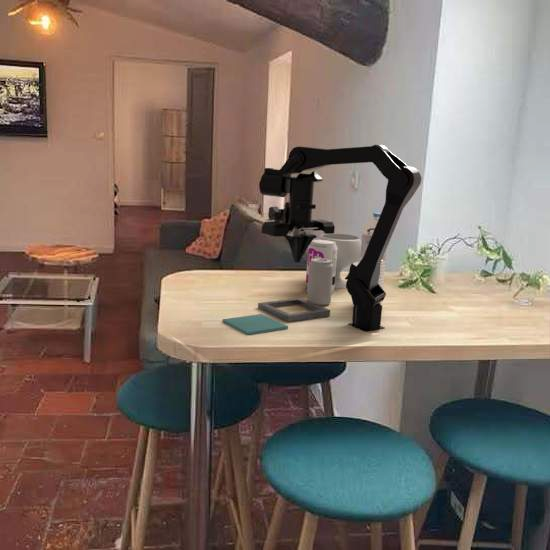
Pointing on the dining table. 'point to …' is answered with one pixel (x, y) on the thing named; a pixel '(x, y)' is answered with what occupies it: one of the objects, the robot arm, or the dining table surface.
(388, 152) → the robot arm
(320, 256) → the supplement can
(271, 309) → the gray square frame
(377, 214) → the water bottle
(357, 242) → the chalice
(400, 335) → the dining table surface
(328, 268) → the beverage can
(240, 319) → the teal mat
